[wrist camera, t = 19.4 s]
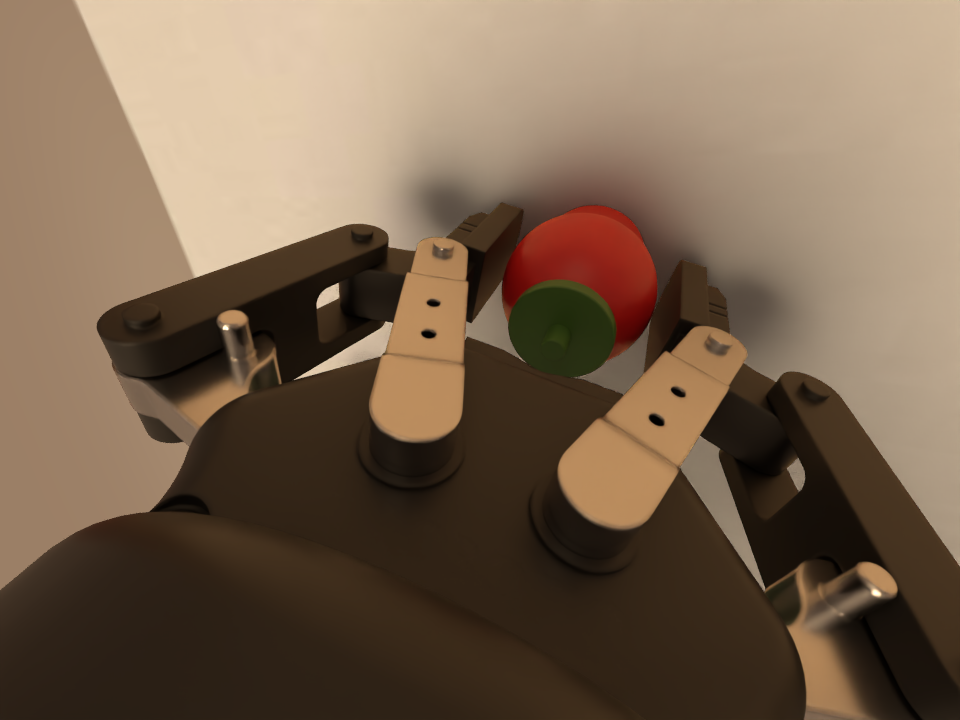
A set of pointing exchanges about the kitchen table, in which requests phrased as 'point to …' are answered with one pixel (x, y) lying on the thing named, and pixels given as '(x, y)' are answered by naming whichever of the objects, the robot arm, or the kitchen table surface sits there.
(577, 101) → the kitchen table surface
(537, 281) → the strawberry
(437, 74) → the kitchen table surface
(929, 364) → the kitchen table surface
